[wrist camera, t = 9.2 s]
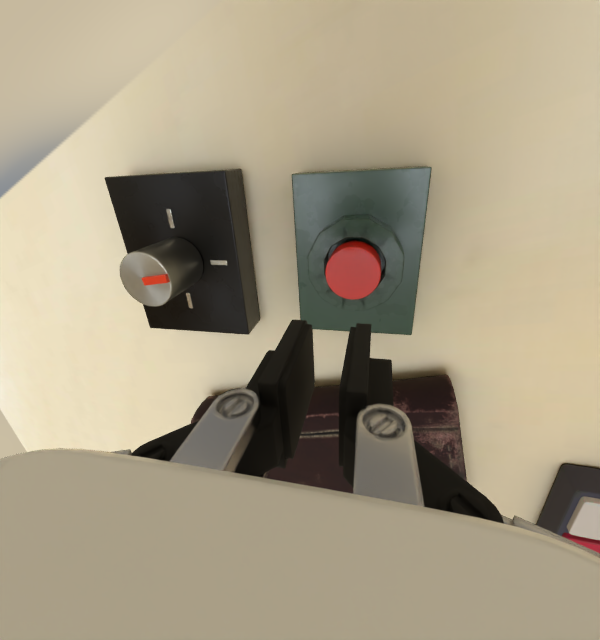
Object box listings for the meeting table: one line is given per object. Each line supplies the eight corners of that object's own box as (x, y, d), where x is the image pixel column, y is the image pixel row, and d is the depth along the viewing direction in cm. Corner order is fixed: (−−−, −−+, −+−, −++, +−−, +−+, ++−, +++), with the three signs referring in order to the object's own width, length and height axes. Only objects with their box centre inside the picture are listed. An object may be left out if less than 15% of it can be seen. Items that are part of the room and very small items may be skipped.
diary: (208, 389, 36) (185, 421, 32) (446, 365, 28) (458, 403, 23) (262, 497, 43) (248, 536, 39) (463, 503, 35) (475, 553, 31)
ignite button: (328, 240, 22) (324, 246, 20) (382, 240, 21) (382, 246, 19) (329, 289, 23) (325, 298, 22) (379, 291, 22) (379, 300, 21)
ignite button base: (298, 172, 23) (284, 175, 20) (427, 166, 21) (436, 167, 18) (306, 317, 29) (296, 339, 25) (409, 322, 27) (413, 347, 23)
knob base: (131, 175, 26) (102, 177, 24) (241, 168, 24) (223, 170, 21) (168, 314, 32) (148, 328, 30) (260, 319, 30) (248, 335, 27)
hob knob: (169, 287, 27) (130, 310, 23) (151, 240, 25) (106, 257, 21) (210, 282, 26) (177, 306, 22) (194, 233, 24) (155, 249, 20)
